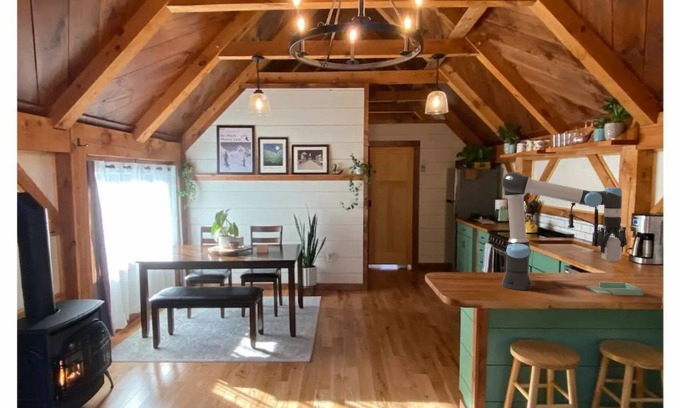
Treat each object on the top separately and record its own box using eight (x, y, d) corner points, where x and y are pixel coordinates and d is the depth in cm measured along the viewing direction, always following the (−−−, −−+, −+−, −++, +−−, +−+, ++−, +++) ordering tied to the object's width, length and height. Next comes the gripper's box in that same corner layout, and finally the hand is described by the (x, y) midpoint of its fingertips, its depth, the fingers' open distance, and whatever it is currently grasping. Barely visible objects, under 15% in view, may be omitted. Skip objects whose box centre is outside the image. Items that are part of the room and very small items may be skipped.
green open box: (614, 295, 200) (615, 289, 200) (598, 287, 214) (599, 281, 214) (642, 296, 199) (643, 289, 199) (625, 288, 213) (625, 282, 213)
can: (619, 259, 206) (619, 237, 206) (620, 261, 200) (621, 239, 199) (602, 257, 210) (603, 236, 210) (603, 260, 204) (603, 238, 203)
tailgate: (610, 295, 202) (598, 294, 202) (597, 288, 213) (586, 287, 213) (610, 292, 202) (598, 291, 202) (597, 286, 213) (586, 285, 213)
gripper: (599, 217, 199) (598, 260, 201) (636, 216, 201) (635, 259, 202) (589, 216, 207) (588, 257, 208) (625, 215, 208) (624, 256, 210)
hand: (611, 258), depth 205 cm, fingers closed on can, 7 cm apart
